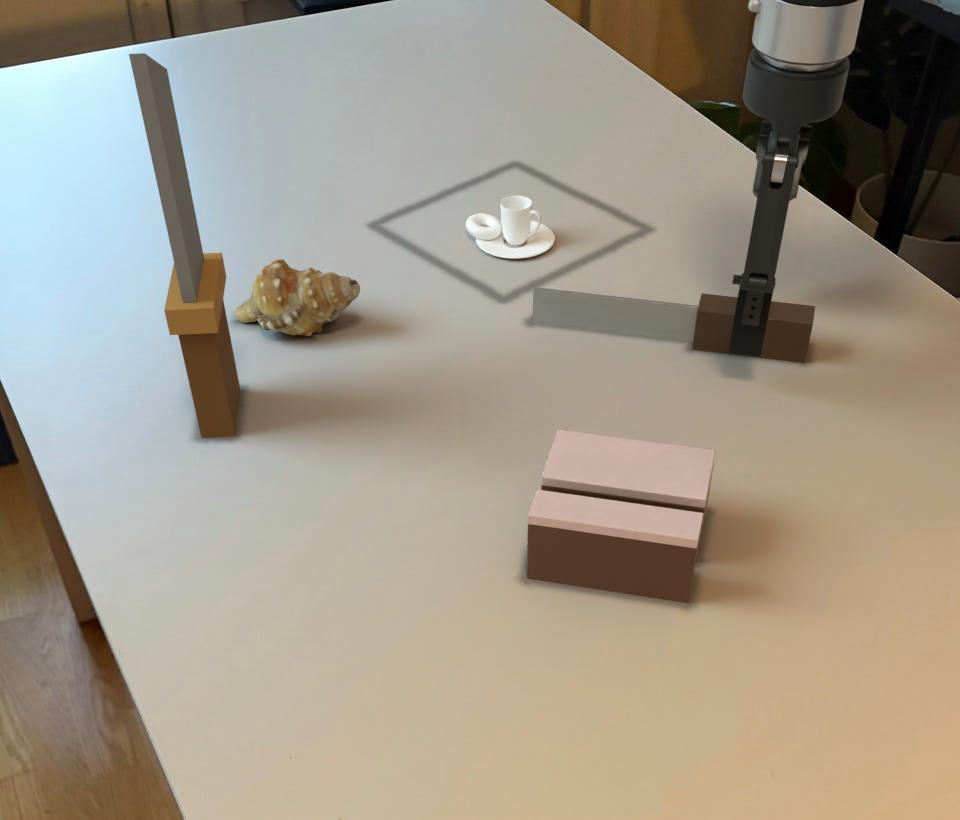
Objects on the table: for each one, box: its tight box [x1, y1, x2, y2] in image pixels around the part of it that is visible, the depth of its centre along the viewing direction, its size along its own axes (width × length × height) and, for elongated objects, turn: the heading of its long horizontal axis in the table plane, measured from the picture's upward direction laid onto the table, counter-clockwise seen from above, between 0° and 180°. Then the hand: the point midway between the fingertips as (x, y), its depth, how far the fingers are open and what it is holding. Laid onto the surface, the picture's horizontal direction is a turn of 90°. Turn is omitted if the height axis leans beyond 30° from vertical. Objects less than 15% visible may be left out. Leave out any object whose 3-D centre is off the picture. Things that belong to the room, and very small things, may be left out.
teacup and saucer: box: [465, 195, 556, 260], centre depth 121 cm, size 9×8×4 cm
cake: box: [540, 429, 717, 562], centre depth 92 cm, size 12×6×6 cm, turn 76°
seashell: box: [234, 258, 361, 337], centre depth 111 cm, size 9×8×10 cm
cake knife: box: [532, 286, 816, 364], centre depth 110 cm, size 25×3×4 cm, turn 76°
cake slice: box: [526, 489, 703, 604], centre depth 88 cm, size 12×3×6 cm, turn 76°
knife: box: [128, 52, 241, 439], centre depth 93 cm, size 8×4×30 cm, turn 3°
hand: (752, 310), depth 107 cm, fingers open, 13 cm apart
